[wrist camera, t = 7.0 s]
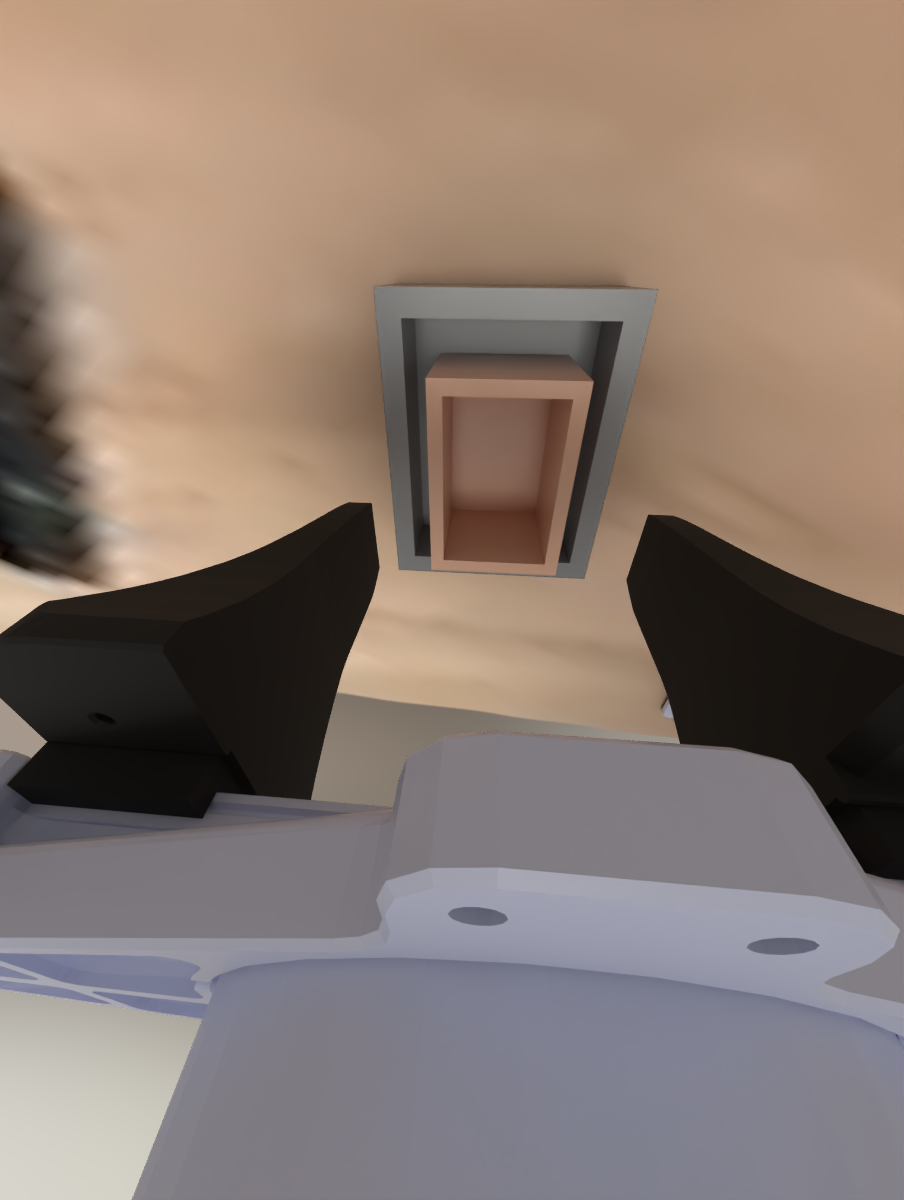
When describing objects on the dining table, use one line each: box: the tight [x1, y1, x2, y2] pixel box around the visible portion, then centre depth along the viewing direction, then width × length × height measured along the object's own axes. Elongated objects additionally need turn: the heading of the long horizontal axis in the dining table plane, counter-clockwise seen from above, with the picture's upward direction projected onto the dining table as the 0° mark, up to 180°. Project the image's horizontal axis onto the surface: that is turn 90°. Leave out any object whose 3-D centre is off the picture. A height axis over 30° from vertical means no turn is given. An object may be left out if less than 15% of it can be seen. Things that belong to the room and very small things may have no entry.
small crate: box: [425, 353, 594, 576], centre depth 16 cm, size 5×7×5 cm
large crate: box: [374, 284, 658, 579], centre depth 17 cm, size 9×11×4 cm
